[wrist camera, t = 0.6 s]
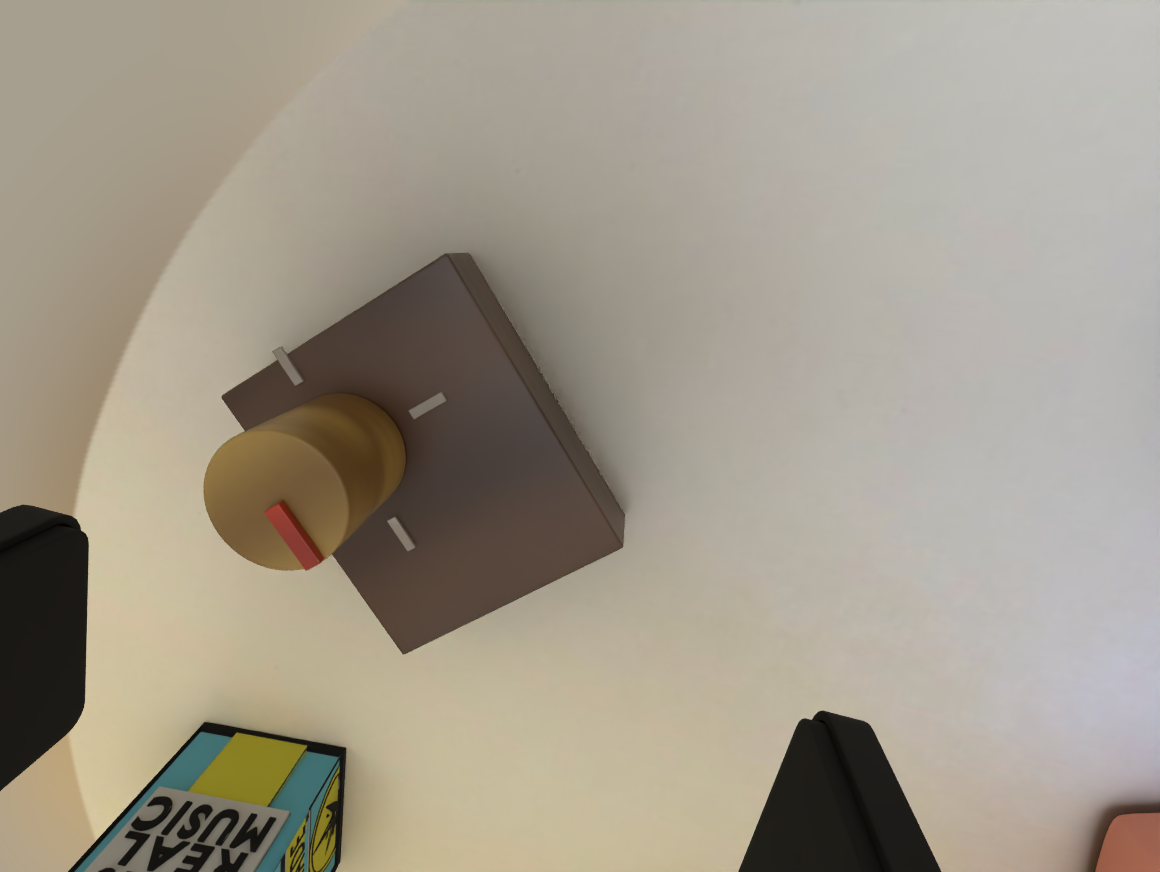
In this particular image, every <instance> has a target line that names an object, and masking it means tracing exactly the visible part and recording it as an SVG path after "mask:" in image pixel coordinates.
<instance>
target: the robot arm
mask: <svg viewBox="0 0 1160 872" xmlns="http://www.w3.org/2000/svg"><path fill="white" fill-rule="evenodd" d="M88 552H89V543H88V537H87V535H86V534H85V533H84V532H82V531H81V528H80V525H79V523H78V521H77V519H75V518H73V517H72V516H69V515H65V514H62V513H58V512H54V511H50V510H46V509H42V508H39V507H35V506H29V505H20V506H16V507H13V508H11V509H8V510H6V511H3V512H1V513H0V791H1V790H2V789H3V788H4V787H5V786H7V785H8V784H9V783H10V782H11V781H12V780H13V779H15V778H16V777H17V776H18V775H19V774H21V773H22V772H23V771H24V770H25V769H27V768H28V767H29V766H30V765H31V764H32V763H34V762H35V761H36V760H37V759H38V758H40V757H41V756H42V755H43V754H44V753H45V752H46V751H48V750H49V749H50V748H51V747H52V746H53V745H55V744H56V743H57V742H58V741H59V740H61V739H62V738H63V737H64V736H65V735H66V734H67V733H68V732H69V731H70V730H71V729H72V728H73V727H74V726H75V724H76V723H77V721H78V719H79V718H80V716H81V714H82V711H83V708H84V703H85V676H86V634H87V593H88ZM739 872H941V870H940V868H939V866H938V864H937V862H936V860H935V857H934V855H933V853H932V851H931V849H930V847H929V845H928V843H927V841H926V839H925V837H924V835H923V833H922V830H921V828H920V826H919V824H918V822H917V820H916V818H915V816H914V814H913V812H912V810H911V808H910V806H909V803H908V801H907V799H906V797H905V795H904V793H903V791H902V789H901V787H900V785H899V783H898V781H897V779H896V776H895V774H894V772H893V770H892V768H891V766H890V764H889V762H888V760H887V758H886V756H885V754H884V752H883V749H882V747H881V745H880V743H879V741H878V739H877V737H876V735H875V733H874V731H873V729H872V728H871V726H870V725H869V724H868V723H866V722H865V721H861V720H857V719H853V718H849V717H846V716H842V715H838V714H834V713H830V712H826V711H819V712H818V713H817V714H816V715H815V716H814V717H813V719H812V720H809V719H802V720H801V721H800V722H799V723H798V725H797V727H796V729H795V732H794V734H793V737H792V739H791V742H790V744H789V747H788V749H787V752H786V754H785V757H784V759H783V762H782V764H781V767H780V769H779V772H778V774H777V777H776V779H775V782H774V784H773V787H772V789H771V792H770V794H769V797H768V799H767V802H766V804H765V807H764V809H763V812H762V814H761V817H760V819H759V822H758V824H757V827H756V829H755V832H754V834H753V837H752V839H751V842H750V844H749V847H748V849H747V852H746V854H745V857H744V859H743V862H742V864H741V867H740V869H739Z"/></svg>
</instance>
